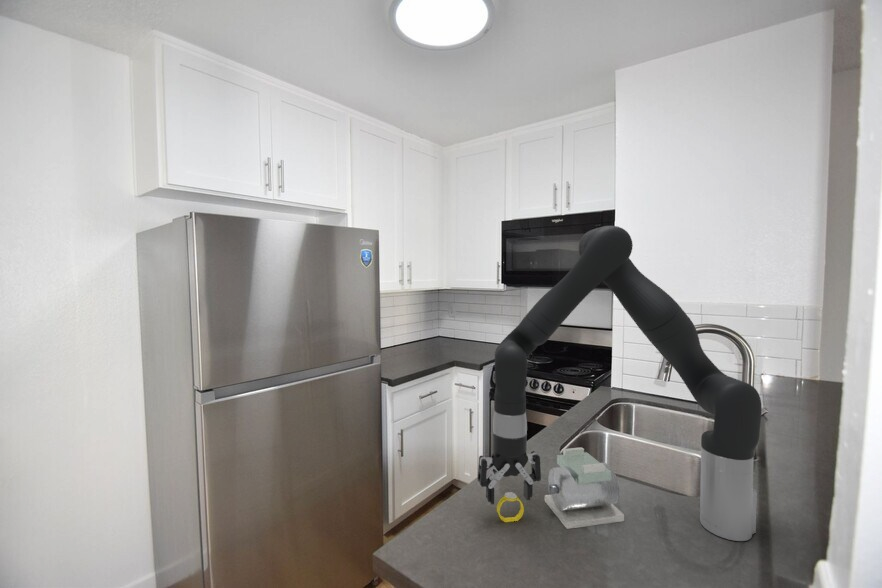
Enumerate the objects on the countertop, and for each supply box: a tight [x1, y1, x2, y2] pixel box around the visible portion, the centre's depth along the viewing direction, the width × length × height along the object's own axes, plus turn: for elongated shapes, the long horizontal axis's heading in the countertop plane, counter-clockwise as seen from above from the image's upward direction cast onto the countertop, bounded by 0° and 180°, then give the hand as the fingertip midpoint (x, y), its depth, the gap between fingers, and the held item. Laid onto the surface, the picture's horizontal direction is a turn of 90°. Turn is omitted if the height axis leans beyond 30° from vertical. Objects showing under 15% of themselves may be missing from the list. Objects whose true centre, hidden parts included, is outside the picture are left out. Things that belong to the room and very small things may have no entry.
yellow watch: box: [496, 491, 525, 523], centre depth 89 cm, size 6×3×6 cm, turn 97°
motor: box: [544, 447, 625, 530], centre depth 92 cm, size 16×11×13 cm
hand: (509, 500), depth 89 cm, fingers open, 8 cm apart
